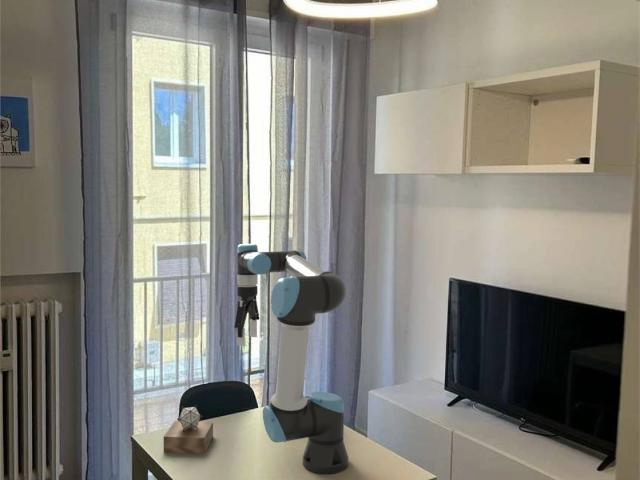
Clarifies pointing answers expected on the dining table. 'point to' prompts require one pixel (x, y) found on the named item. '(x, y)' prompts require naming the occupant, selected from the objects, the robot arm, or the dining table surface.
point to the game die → (189, 417)
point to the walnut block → (188, 438)
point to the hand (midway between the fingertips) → (247, 341)
